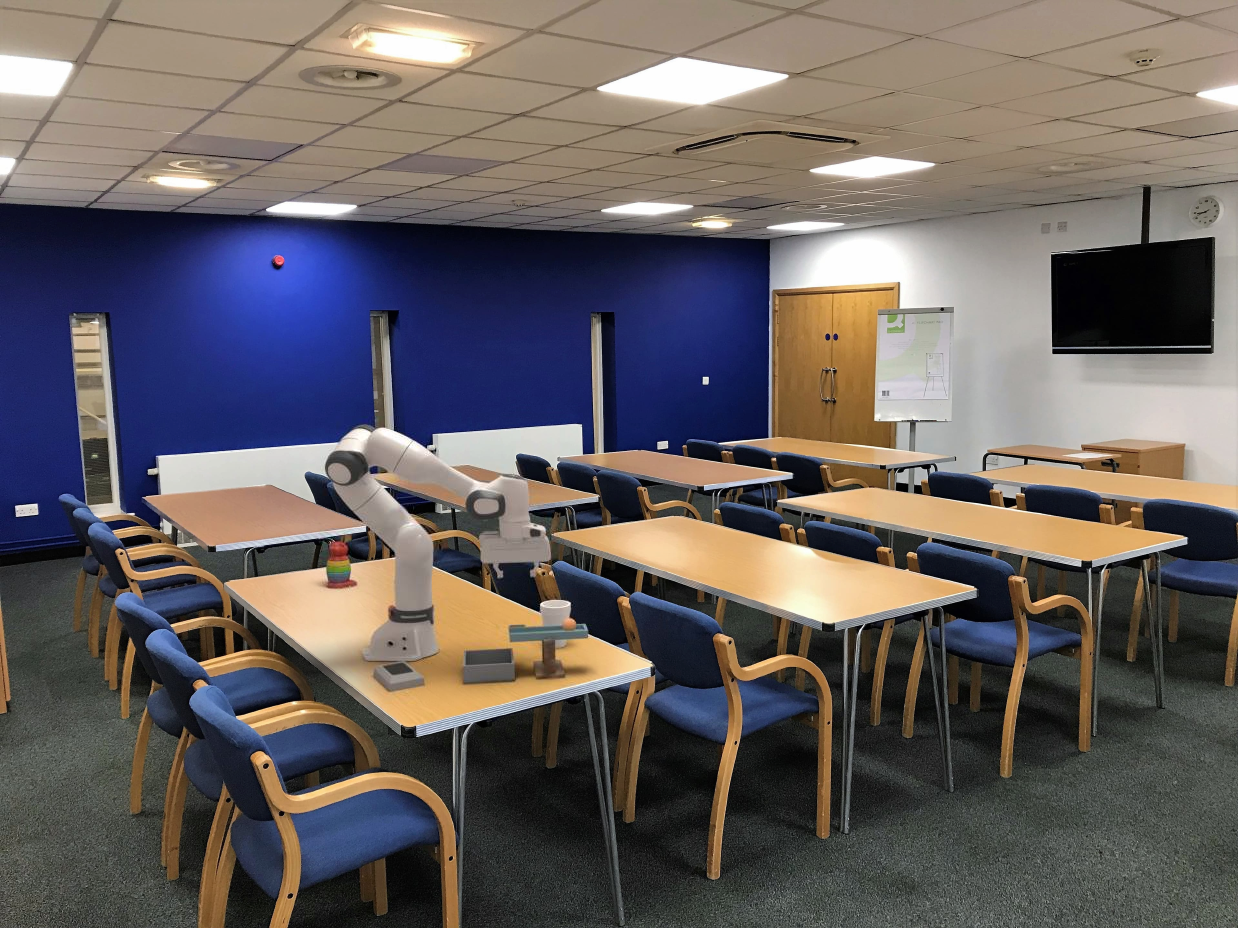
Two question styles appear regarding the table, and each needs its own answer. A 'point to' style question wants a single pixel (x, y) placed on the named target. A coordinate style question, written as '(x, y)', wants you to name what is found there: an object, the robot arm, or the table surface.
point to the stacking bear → (339, 567)
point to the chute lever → (545, 633)
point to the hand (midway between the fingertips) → (516, 577)
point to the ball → (569, 625)
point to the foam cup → (555, 615)
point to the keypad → (398, 676)
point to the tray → (488, 666)
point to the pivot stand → (548, 662)
